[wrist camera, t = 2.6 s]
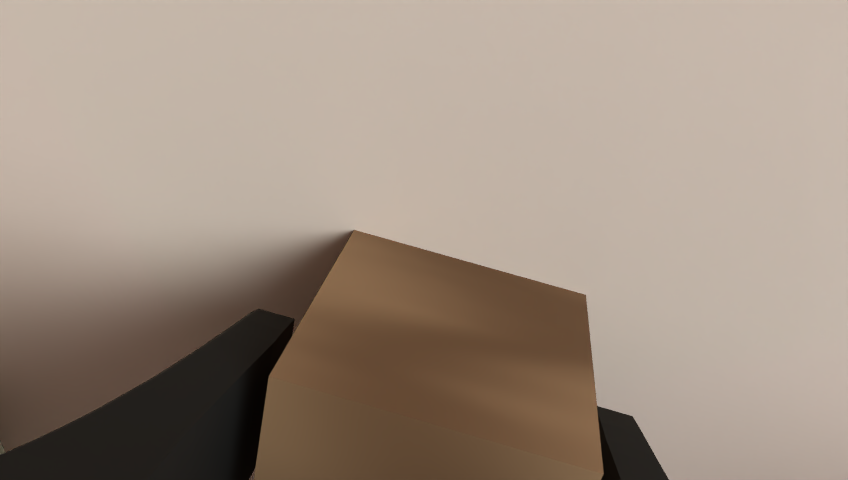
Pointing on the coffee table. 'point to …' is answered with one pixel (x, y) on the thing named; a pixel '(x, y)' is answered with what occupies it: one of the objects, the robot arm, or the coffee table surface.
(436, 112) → the coffee table surface
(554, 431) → the walnut cube
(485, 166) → the coffee table surface
